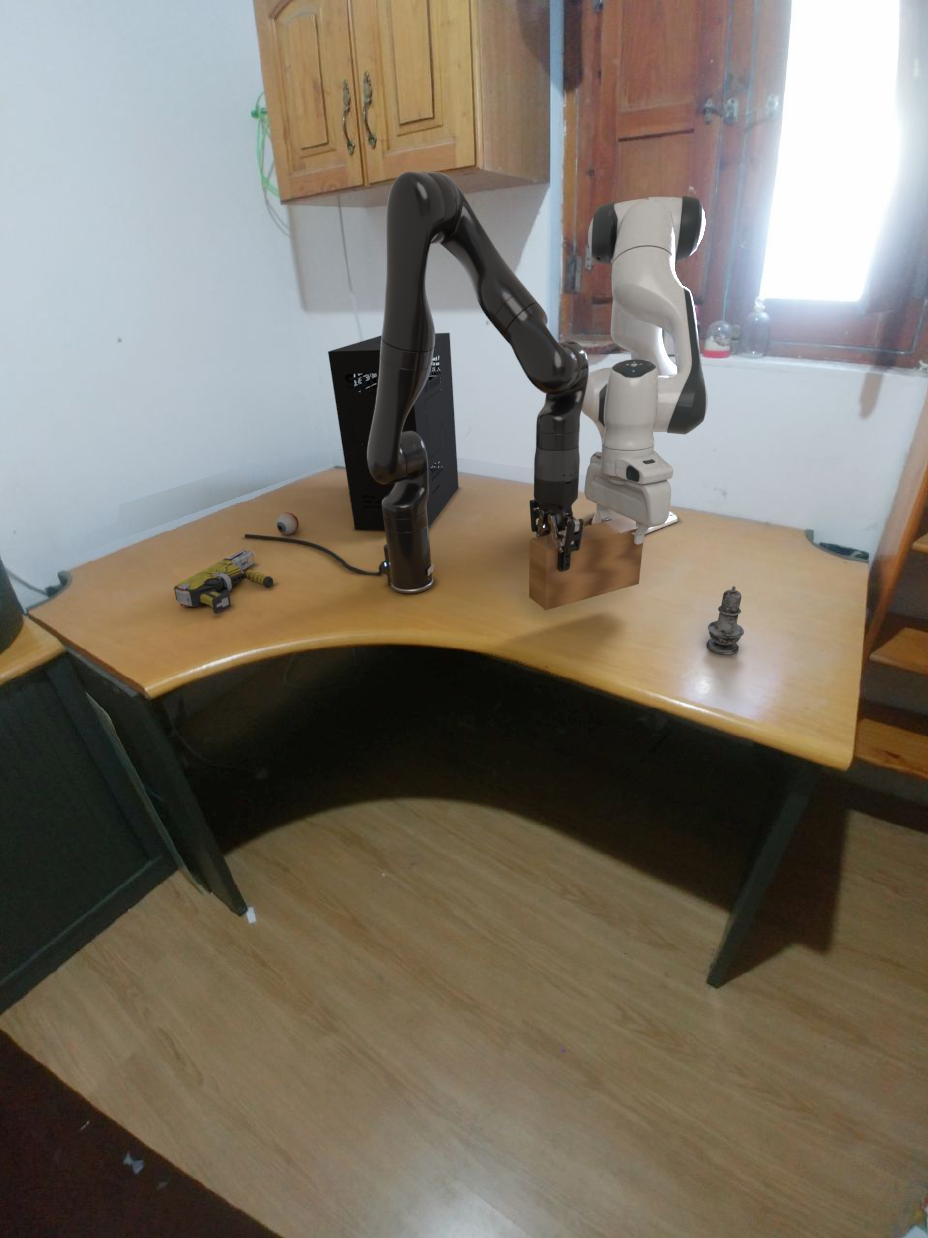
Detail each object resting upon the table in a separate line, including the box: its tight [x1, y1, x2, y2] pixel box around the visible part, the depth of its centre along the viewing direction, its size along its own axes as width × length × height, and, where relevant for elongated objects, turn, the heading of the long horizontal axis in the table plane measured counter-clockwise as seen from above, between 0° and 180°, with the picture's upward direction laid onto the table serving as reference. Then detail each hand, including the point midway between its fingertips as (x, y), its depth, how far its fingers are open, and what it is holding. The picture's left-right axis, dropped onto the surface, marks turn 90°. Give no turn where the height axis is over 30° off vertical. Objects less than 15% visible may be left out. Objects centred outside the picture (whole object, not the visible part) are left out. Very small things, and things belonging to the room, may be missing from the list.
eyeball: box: [275, 511, 300, 536], centre depth 163 cm, size 6×6×6 cm
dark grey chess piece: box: [706, 585, 745, 655], centre depth 104 cm, size 6×6×12 cm
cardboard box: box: [327, 332, 460, 532], centre depth 168 cm, size 38×20×45 cm, turn 167°
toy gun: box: [173, 548, 274, 614], centre depth 136 cm, size 5×24×15 cm
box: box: [528, 517, 644, 611], centre depth 113 cm, size 21×6×12 cm, turn 115°
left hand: (553, 563), depth 110 cm, fingers closed on box, 6 cm apart
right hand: (620, 534), depth 113 cm, fingers open, 8 cm apart
